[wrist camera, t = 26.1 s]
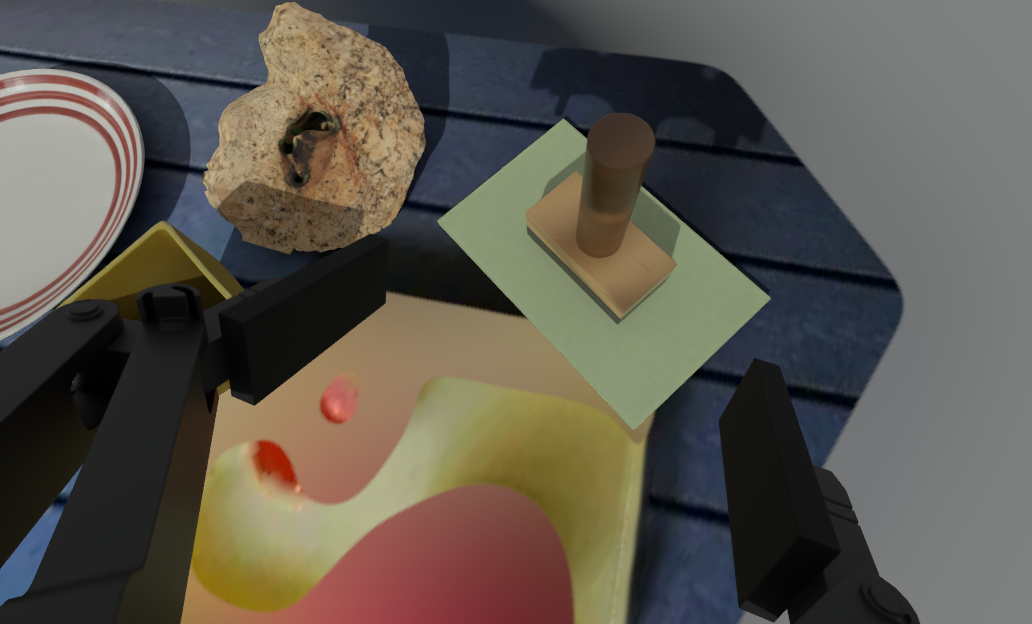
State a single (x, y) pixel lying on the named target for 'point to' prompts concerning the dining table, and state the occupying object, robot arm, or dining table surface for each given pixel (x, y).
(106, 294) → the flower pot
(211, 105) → the dining table surface
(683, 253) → the mat
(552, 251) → the stamp
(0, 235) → the dinner plate
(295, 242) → the pitted speckled stone
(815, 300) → the dining table surface
